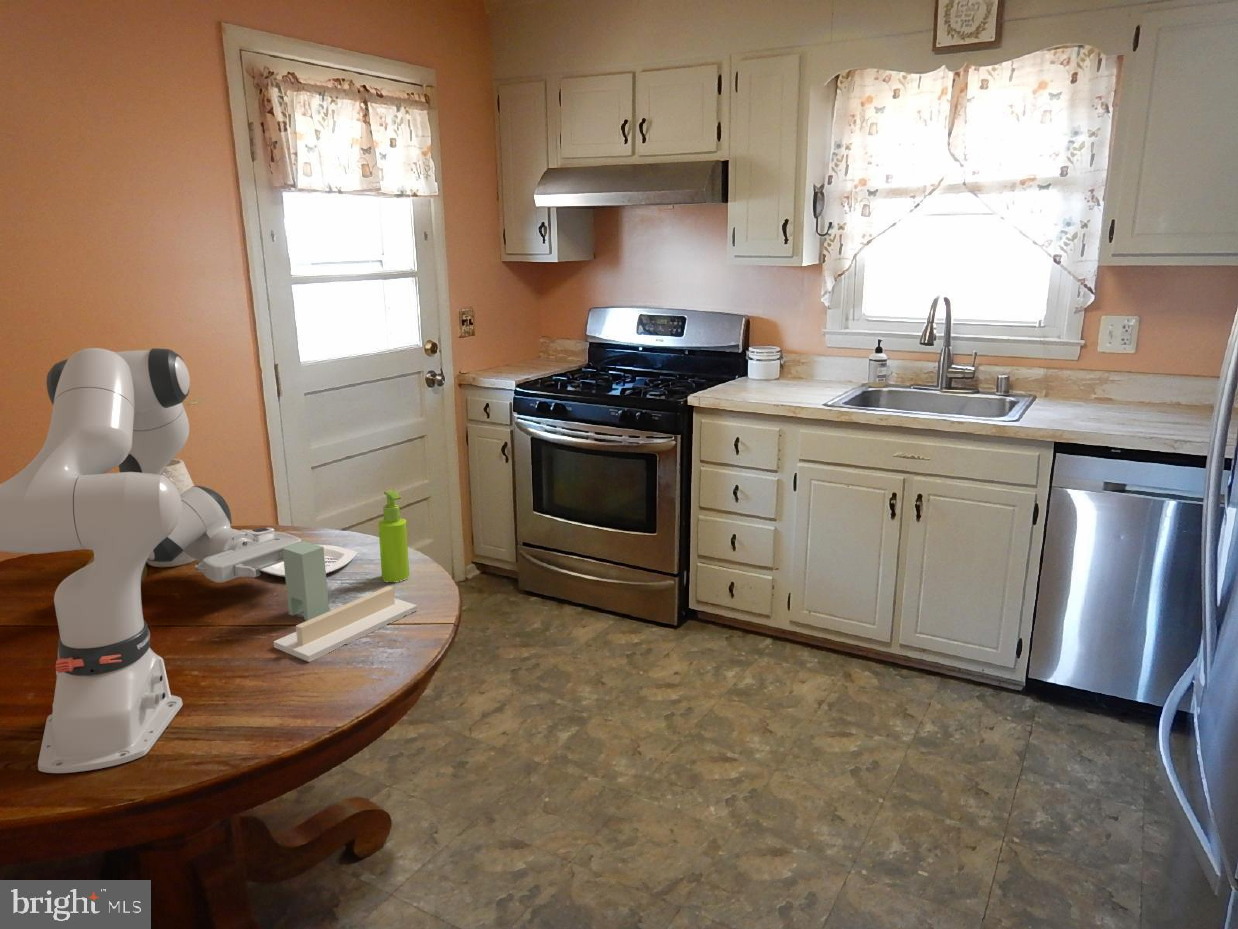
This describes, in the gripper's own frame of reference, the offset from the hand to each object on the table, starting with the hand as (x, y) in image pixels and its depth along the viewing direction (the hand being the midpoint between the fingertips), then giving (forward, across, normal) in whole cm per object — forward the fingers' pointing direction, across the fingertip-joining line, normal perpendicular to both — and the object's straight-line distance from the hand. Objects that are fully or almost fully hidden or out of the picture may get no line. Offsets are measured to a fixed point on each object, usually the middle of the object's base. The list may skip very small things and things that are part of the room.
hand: (277, 565), depth 173 cm
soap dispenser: (+9, +23, +8) cm, 26 cm away
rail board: (+21, 0, +8) cm, 22 cm away
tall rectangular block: (+9, 0, +8) cm, 12 cm away
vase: (-42, +2, +8) cm, 43 cm away
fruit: (-28, -18, +8) cm, 34 cm away
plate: (-13, +16, +9) cm, 23 cm away
